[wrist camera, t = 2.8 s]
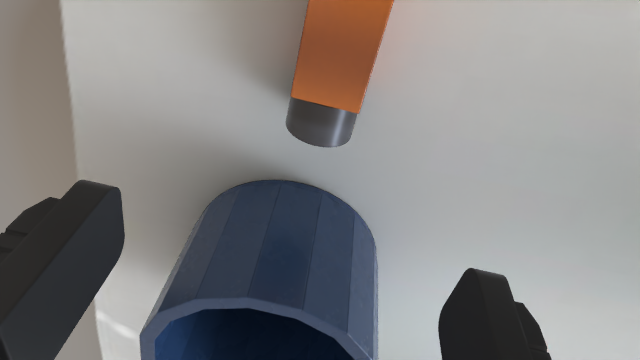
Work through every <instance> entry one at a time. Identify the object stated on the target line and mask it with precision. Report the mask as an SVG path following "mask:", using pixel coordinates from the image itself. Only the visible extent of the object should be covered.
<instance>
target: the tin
mask: <svg viewBox="0 0 640 360" xmlns="http://www.w3.org/2000/svg"><path fill="white" fill-rule="evenodd" d="M140 350H141V360H378V264H377V257H376V246H375V242H374V238H373V236H372V234H371V231H370V230H369V228H368V226H367V225H366V223H365V222H364V220H363V219H362V218H361V217H360V216H359V215H358V213H357V212H355V211H354V210H353V209H352V208H351V207H350V206H349V205H347V204H346V203H345V202H343V201H342V200H340V199H339V198H337V197H335V196H334V195H332V194H330V193H328V192H326V191H323V190H321V189H318V188H316V187H313V186H310V185H306V184H303V183H297V182H292V181H283V180H262V181H255V182H249V183H246V184H242V185H239V186H236V187H234V188H231V189H229V190H227V191H225V192H224V193H222V194H220V195H219V196H218V197H216V198H215V199H214V200H213V201H212V202H211V203H210V204H209V205H208V206H207V207H206V209H205V210H204V212H203V214H202V215H201V217H200V218H199V220H198V221H197V223H196V224H195V226H194V228H193V230H192V232H191V234H190V236H189V238H188V240H187V242H186V244H185V246H184V248H183V250H182V252H181V254H180V256H179V258H178V260H177V262H176V264H175V266H174V268H173V270H172V272H171V274H170V276H169V278H168V280H167V282H166V284H165V286H164V288H163V289H162V291H161V293H160V295H159V297H158V299H157V301H156V303H155V305H154V307H153V309H152V311H151V313H150V315H149V317H148V319H147V321H146V323H145V325H144V327H143V329H142V331H141V333H140Z"/></svg>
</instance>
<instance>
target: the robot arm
mask: <svg viewBox="0 0 640 360" xmlns="http://www.w3.org/2000/svg"><path fill="white" fill-rule="evenodd" d="M124 239H125V233H124V222H123V211H122V200H121V192H120V190H119V188H117V187H114V186H109V185H105V184H100V183H96V182H92V181H87V180H80V181H78V182H77V183H75V184H74V185H73V186H72V188H71V189H70V190H69V191H68V192H67V193H66V194H65V195H64V196H63V197H62V198H61V199H57V198H52V197H49V198H47V199H45V200H43V201H41V202H40V203H38V204H36V205H34V206H32V207H30V208H28V209H26V210H25V211H23V212H22V213H21V214H20V215H19V216H18V217H17V218H16V219H15V220H14V221H13V222H12V223H11V224H10V225H9V226H8V227H7V228H6V231H5V233H1V234H0V360H54V359H55V357H56V356H57V354H58V353H59V351H60V350H61V348H62V346H63V345H64V343H65V342H66V340H67V339H68V337H69V336H70V334H71V332H72V331H73V329H74V328H75V326H76V325H77V323H78V322H79V320H80V319H81V317H82V315H83V314H84V312H85V311H86V309H87V308H88V306H89V305H90V303H91V302H92V300H93V298H94V297H95V295H96V294H97V292H98V291H99V289H100V288H101V286H102V285H103V283H104V281H105V280H106V278H107V277H108V275H109V274H110V272H111V271H112V269H113V268H114V266H115V264H116V263H117V261H118V259H119V257H120V255H121V252H122V249H123V245H124ZM438 331H439V340H440V347H441V354H442V360H551V357H550V354H549V353H547V346H546V343H545V340H544V338H543V335H542V332H541V329H540V327H539V325H538V323H537V322H536V320H535V319H534V318H533V316H532V315H531V314H530V312H529V311H528V310H527V308H526V307H525V305H524V304H523V303H519V302H515V301H514V299H513V296H512V293H511V290H510V287H509V284H508V281H507V279H506V277H505V276H503V275H500V274H496V273H491V272H487V271H483V270H478V269H474V268H469V269H467V270H466V271H465V272H464V274H463V276H462V277H461V279H460V280H459V282H458V283H457V285H456V287H455V288H454V290H453V291H452V293H451V295H450V296H449V298H448V299H447V301H446V303H445V304H444V306H443V308H442V310H441V313H440V318H439V326H438Z"/></svg>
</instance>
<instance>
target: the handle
mask: <svg viewBox="0 0 640 360" xmlns="http://www.w3.org/2000/svg"><path fill="white" fill-rule="evenodd" d="M393 2H394V0H309V1H308V6H307V11H306V16H305V22H304V27H303V32H302V37H301V43H300V48H299V53H298V58H297V63H296V69H295V74H294V79H293V84H292V89H291V95H290V96H291V97H290V102H289V108H288V113H287V118H286V126H287V129H288V130H289V132H290V133H291V134H292V135H293V136H295V137H296V138H298V139H299V140H301V141H303V142H305V143H308V144H311V145H314V146H319V147H337V146H341V145H343V144H345V143H347V142H348V141H349V139H350V137H351V134H352V131H353V127H354V124H355V121H356V118H357V114H359V112H360V109H361V106H362V103H363V99H364V96H365V93H366V90H367V86H368V83H369V80H370V77H371V73H372V70H373V67H374V64H375V60H376V57H377V54H378V51H379V47H380V44H381V41H382V38H383V34H384V31H385V28H386V25H387V21H388V18H389V15H390V12H391V8H392V5H393Z"/></svg>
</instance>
